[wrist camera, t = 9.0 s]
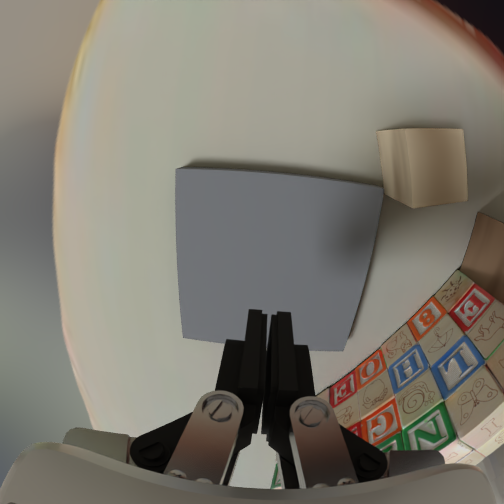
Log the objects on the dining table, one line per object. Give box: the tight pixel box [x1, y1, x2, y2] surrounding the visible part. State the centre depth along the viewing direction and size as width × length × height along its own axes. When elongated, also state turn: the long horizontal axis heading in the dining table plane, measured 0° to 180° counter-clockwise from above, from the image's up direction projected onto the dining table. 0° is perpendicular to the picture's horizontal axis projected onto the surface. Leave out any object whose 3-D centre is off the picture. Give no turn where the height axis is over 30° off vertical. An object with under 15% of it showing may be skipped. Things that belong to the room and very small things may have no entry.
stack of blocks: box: [271, 270, 504, 489], centre depth 14 cm, size 21×6×12 cm, turn 143°
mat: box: [175, 167, 384, 351], centre depth 17 cm, size 12×12×1 cm
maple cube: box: [376, 128, 468, 209], centre depth 13 cm, size 4×4×4 cm
